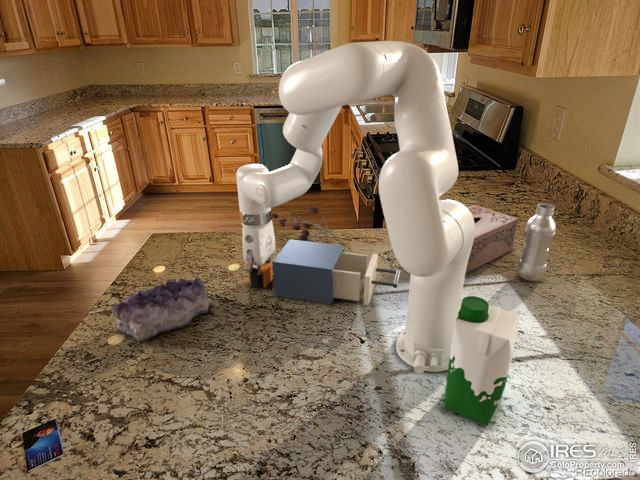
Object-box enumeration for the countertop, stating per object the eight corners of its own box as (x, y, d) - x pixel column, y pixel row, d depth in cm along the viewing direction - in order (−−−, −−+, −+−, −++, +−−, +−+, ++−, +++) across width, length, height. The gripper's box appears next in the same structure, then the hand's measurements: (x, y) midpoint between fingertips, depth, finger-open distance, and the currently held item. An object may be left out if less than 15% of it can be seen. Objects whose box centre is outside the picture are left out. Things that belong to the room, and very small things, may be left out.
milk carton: (452, 378, 79) (467, 286, 70) (503, 397, 74) (526, 301, 66) (437, 410, 72) (451, 312, 63) (492, 433, 68) (516, 332, 59)
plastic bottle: (546, 285, 107) (565, 212, 99) (518, 282, 109) (534, 210, 100) (540, 272, 113) (557, 202, 104) (513, 270, 114) (528, 200, 106)
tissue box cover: (457, 277, 111) (462, 243, 107) (415, 257, 122) (418, 225, 117) (511, 249, 125) (518, 218, 121) (470, 233, 136) (474, 204, 131)
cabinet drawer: (400, 284, 107) (402, 256, 103) (395, 309, 97) (397, 280, 94) (325, 274, 112) (325, 247, 108) (313, 297, 102) (312, 269, 99)
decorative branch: (267, 202, 144) (339, 202, 126) (281, 219, 150) (352, 221, 132) (251, 228, 139) (325, 232, 121) (266, 244, 145) (338, 251, 127)
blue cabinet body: (343, 278, 112) (344, 245, 107) (331, 304, 101) (332, 269, 96) (291, 271, 115) (290, 239, 111) (274, 295, 104) (272, 261, 100)
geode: (196, 293, 106) (194, 259, 101) (218, 319, 99) (218, 284, 94) (110, 323, 94) (103, 286, 89) (128, 355, 86) (122, 317, 81)
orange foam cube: (266, 287, 108) (264, 272, 106) (249, 285, 109) (248, 269, 107) (272, 278, 112) (271, 263, 110) (256, 276, 113) (255, 261, 111)
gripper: (256, 232, 94) (262, 301, 102) (282, 205, 109) (286, 267, 117) (225, 228, 96) (233, 296, 104) (255, 203, 111) (260, 264, 119)
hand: (261, 280), depth 110 cm, fingers closed on orange foam cube, 4 cm apart
